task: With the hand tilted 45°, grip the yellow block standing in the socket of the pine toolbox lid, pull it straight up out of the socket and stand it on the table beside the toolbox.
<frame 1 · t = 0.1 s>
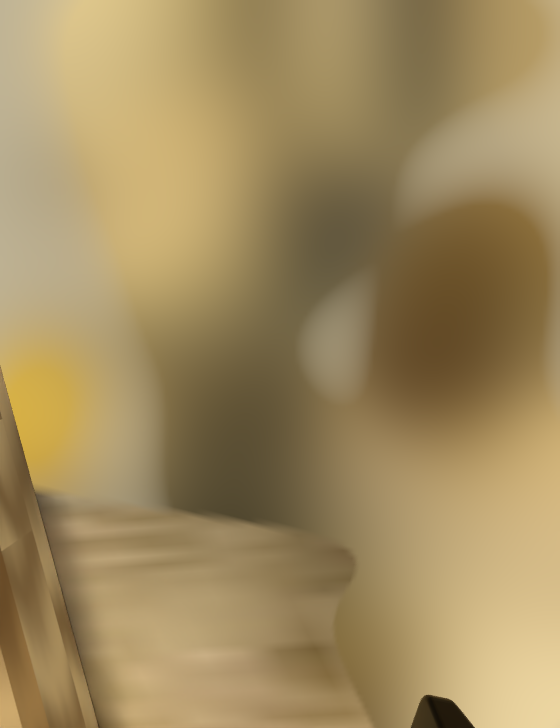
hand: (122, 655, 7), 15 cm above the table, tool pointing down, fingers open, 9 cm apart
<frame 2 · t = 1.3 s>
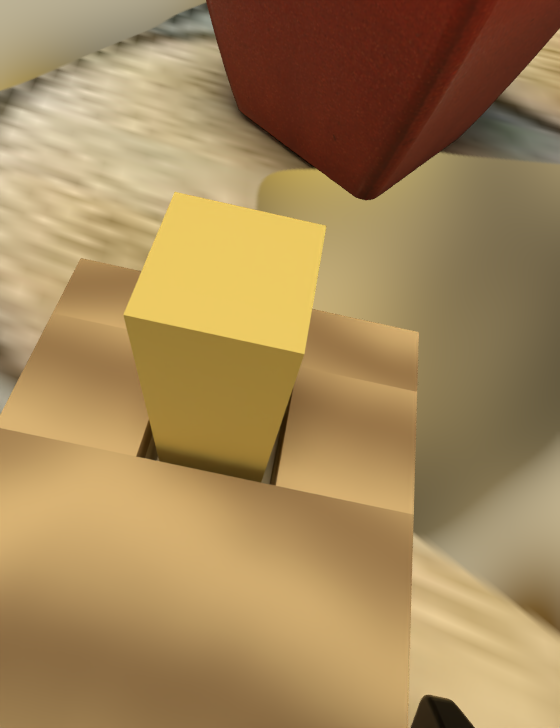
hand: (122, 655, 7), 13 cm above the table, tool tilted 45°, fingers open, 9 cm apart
plant pot: (353, 127, 37), on the table
yellow block: (220, 445, 22), point 1 cm above the table, touching toolbox
toolbox: (188, 579, 20), on the table
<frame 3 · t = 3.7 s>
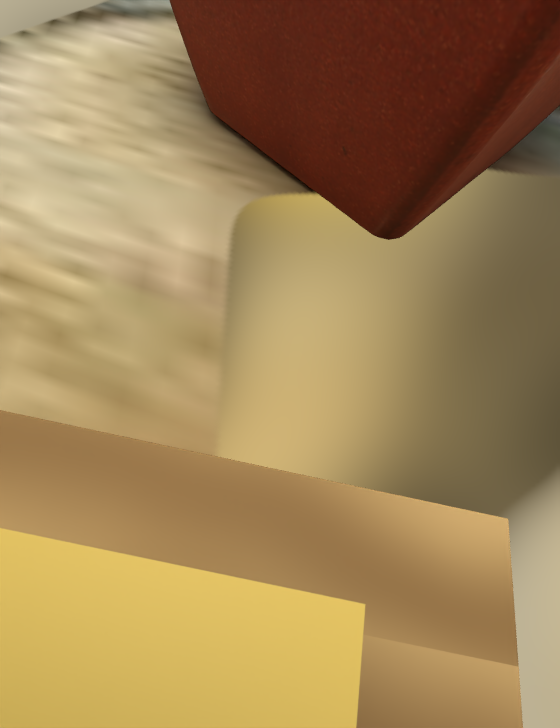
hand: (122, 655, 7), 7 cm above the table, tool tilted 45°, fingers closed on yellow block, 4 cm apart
plant pot: (367, 134, 27), on the table
yellow block: (140, 720, 12), point 1 cm above the table, touching gripper, toolbox
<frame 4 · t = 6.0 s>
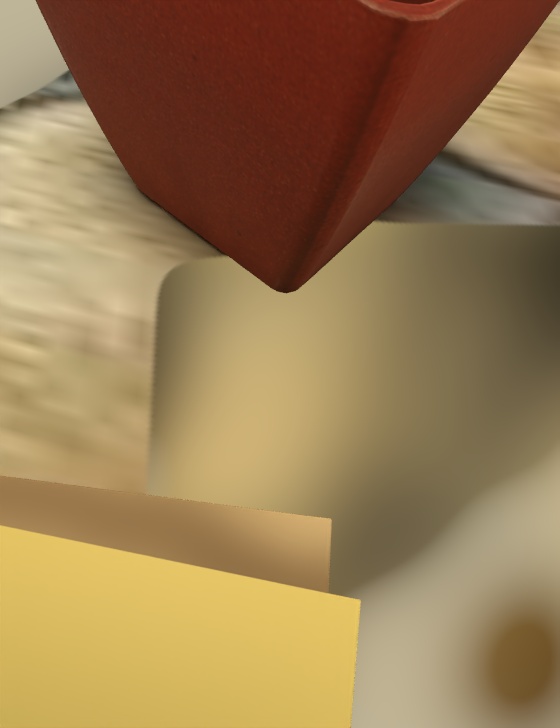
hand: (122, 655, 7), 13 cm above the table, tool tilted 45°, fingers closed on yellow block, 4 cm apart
plant pot: (273, 196, 33), on the table
yellow block: (139, 719, 12), point 7 cm above the table, touching gripper
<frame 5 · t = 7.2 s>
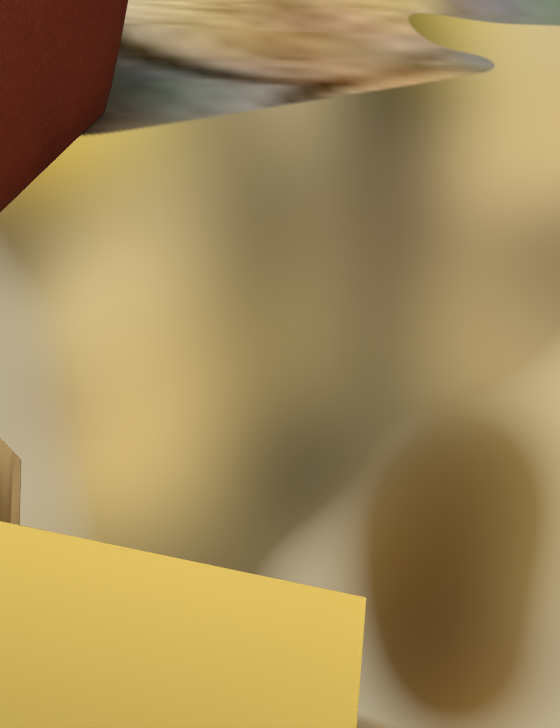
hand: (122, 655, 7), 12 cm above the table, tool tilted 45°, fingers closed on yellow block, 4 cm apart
yellow block: (140, 718, 12), point 6 cm above the table, touching gripper
when the fingers open (8 cm above the table, at t = 8.4 s): yellow block drops 1 cm, on the table.
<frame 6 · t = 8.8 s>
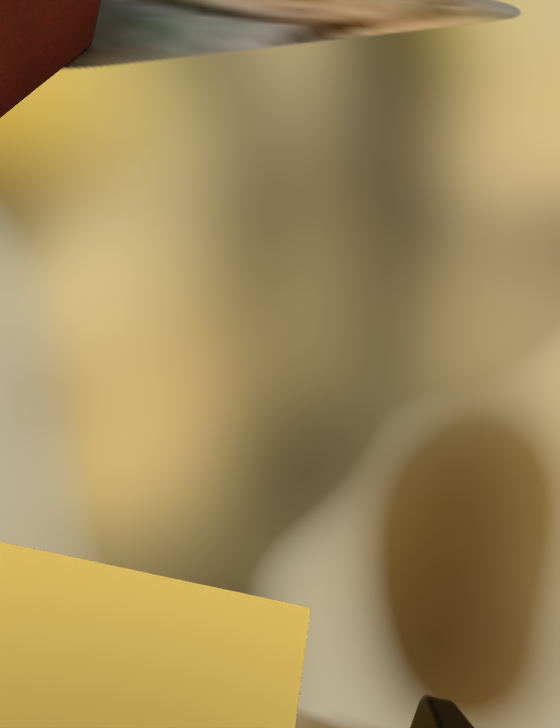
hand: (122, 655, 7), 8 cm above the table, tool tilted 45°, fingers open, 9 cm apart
yellow block: (146, 710, 13), on the table
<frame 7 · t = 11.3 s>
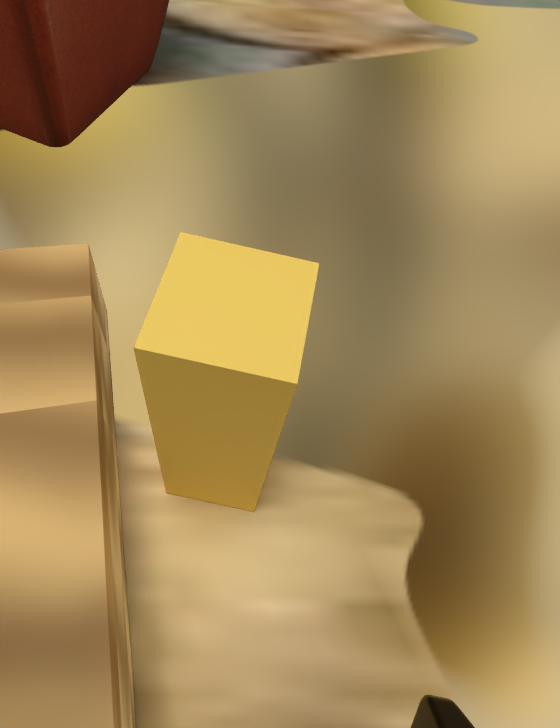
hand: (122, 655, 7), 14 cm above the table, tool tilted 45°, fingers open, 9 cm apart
plant pot: (39, 81, 36), on the table
yellow block: (220, 460, 23), on the table
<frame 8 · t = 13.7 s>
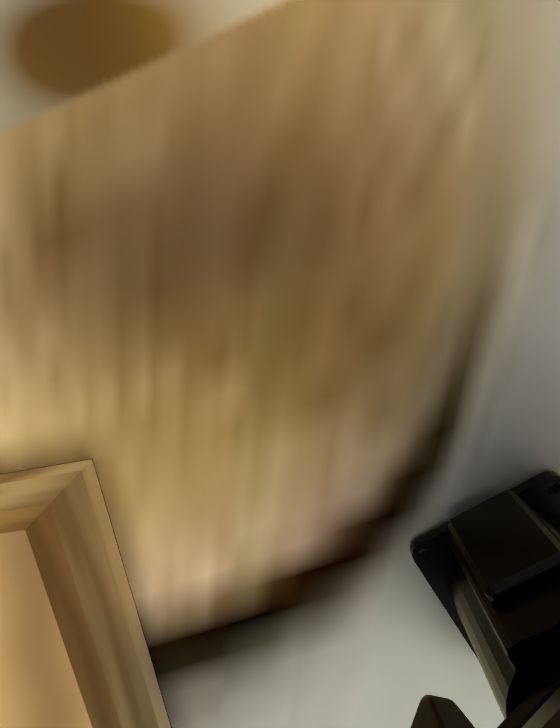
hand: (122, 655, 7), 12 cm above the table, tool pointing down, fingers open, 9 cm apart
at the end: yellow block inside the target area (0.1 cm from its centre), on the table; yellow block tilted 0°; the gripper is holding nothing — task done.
